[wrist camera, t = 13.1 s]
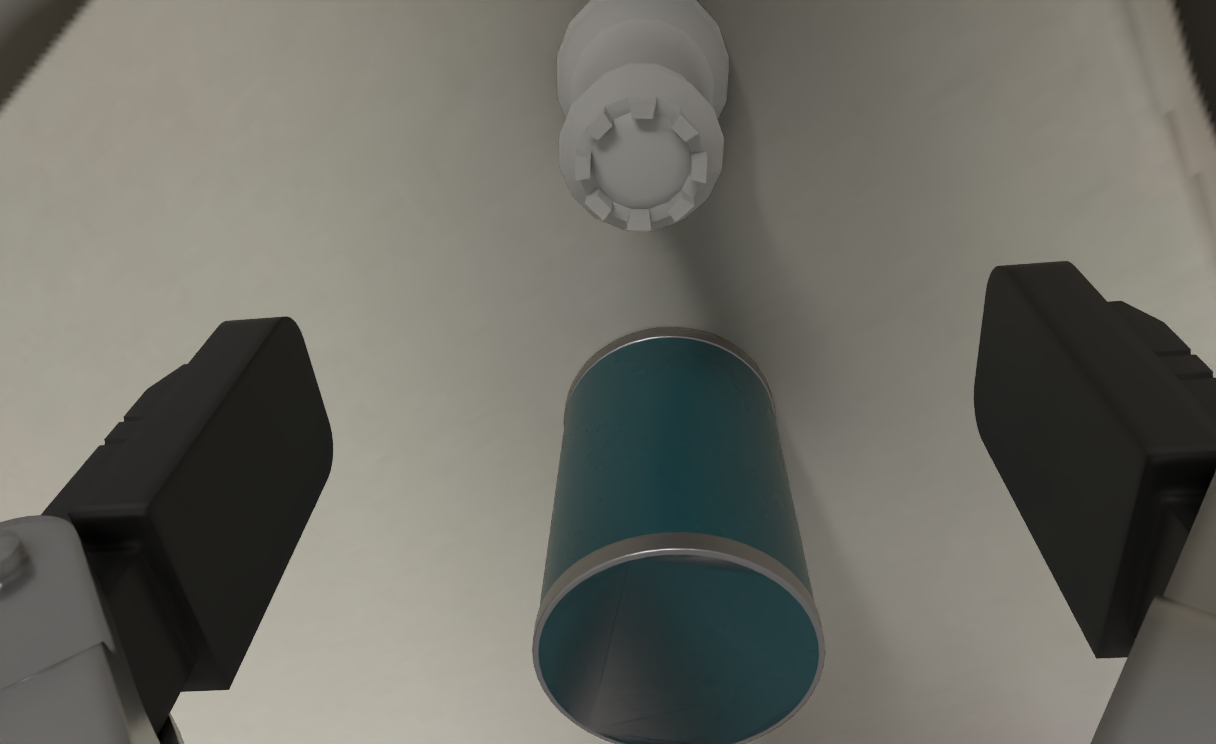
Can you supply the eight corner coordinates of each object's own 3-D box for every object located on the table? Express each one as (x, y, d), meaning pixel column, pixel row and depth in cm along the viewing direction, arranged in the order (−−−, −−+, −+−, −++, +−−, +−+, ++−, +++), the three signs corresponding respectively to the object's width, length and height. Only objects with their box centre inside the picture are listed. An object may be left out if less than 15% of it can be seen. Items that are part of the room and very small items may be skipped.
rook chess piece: (748, -1, 23) (790, 76, 17) (703, 168, 26) (724, 297, 19) (574, -41, 23) (543, 20, 16) (544, 134, 25) (505, 252, 19)
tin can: (552, 334, 29) (511, 556, 20) (773, 319, 28) (829, 541, 19) (577, 506, 32) (551, 759, 23) (774, 495, 31) (823, 750, 23)
